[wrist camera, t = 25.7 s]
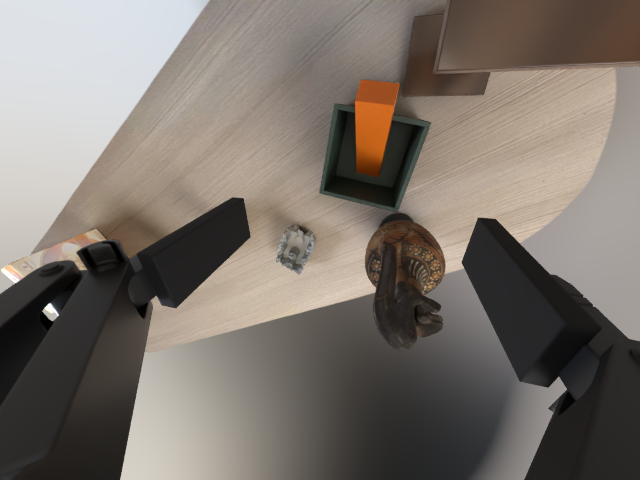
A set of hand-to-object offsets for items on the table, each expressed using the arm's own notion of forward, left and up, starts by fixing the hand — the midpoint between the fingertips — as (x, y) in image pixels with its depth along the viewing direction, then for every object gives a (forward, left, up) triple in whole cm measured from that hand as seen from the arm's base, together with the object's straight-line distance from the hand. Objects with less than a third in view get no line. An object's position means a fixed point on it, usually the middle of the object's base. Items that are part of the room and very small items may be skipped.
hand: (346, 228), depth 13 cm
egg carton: (+24, -11, -32) cm, 42 cm away
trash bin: (0, 0, -32) cm, 32 cm away
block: (-3, 0, -24) cm, 24 cm away
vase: (+13, +9, -32) cm, 36 cm away
